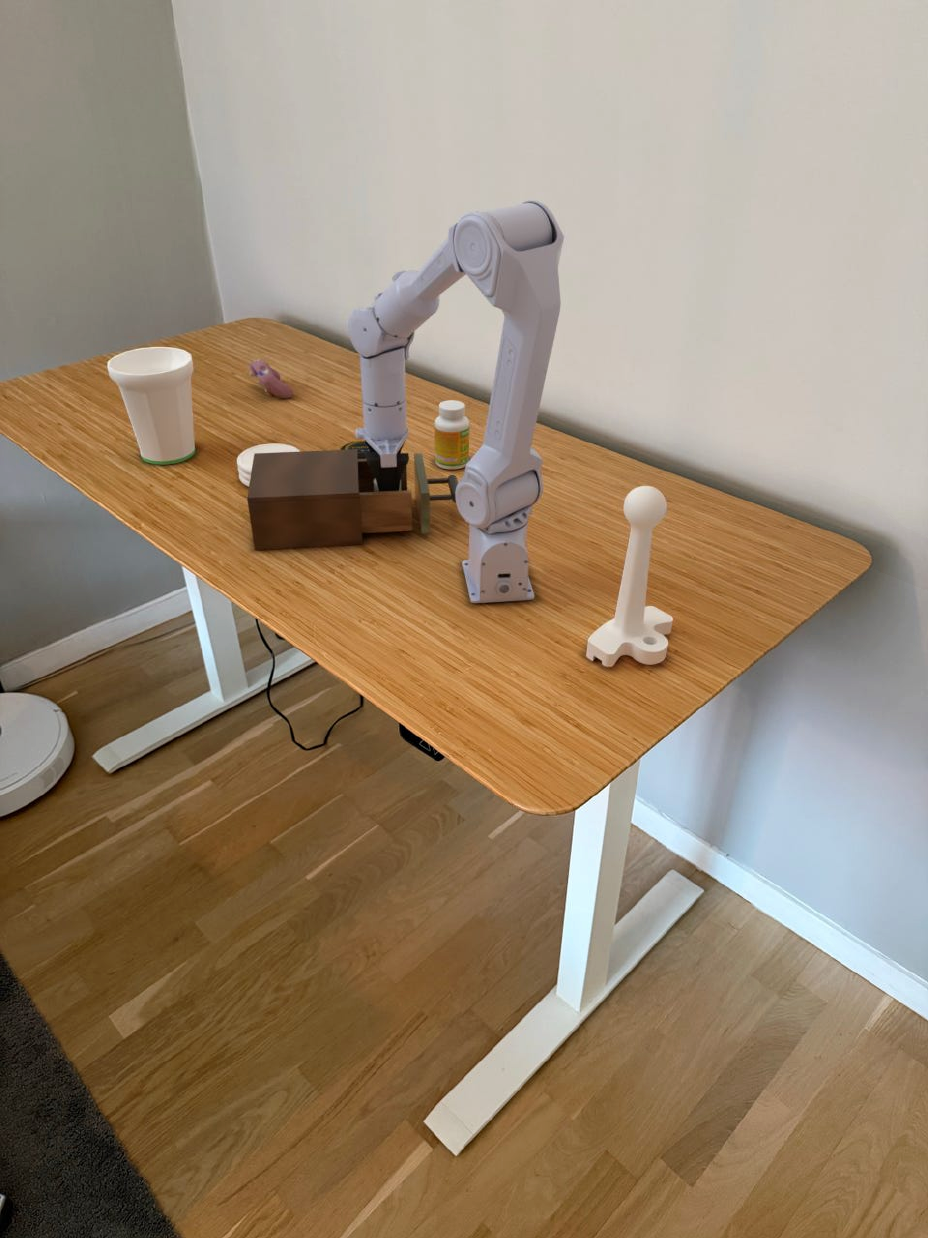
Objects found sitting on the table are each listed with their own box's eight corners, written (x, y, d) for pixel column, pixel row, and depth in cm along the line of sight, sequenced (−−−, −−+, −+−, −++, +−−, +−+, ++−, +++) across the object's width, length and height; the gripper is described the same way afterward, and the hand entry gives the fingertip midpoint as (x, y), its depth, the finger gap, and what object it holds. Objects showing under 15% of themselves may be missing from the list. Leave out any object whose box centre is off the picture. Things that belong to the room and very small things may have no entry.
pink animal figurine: (261, 391, 169) (240, 361, 164) (281, 377, 169) (261, 347, 165) (275, 409, 162) (254, 379, 157) (296, 395, 162) (275, 364, 157)
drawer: (454, 490, 132) (454, 451, 128) (464, 531, 122) (464, 491, 119) (331, 496, 130) (328, 457, 127) (331, 538, 120) (327, 497, 117)
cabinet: (360, 498, 132) (356, 448, 127) (362, 544, 121) (359, 492, 116) (261, 502, 130) (254, 453, 125) (254, 550, 119) (247, 497, 115)
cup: (111, 464, 140) (89, 369, 131) (156, 433, 149) (138, 342, 141) (181, 475, 137) (163, 379, 128) (222, 443, 147) (208, 351, 138)
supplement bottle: (465, 472, 139) (465, 413, 133) (431, 468, 140) (430, 409, 134) (471, 457, 143) (472, 399, 137) (439, 454, 144) (438, 396, 138)
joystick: (642, 616, 108) (666, 465, 96) (692, 646, 103) (723, 491, 91) (578, 651, 102) (594, 495, 90) (627, 684, 97) (651, 524, 86)
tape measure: (338, 480, 136) (336, 458, 134) (342, 461, 142) (340, 439, 139) (383, 480, 136) (382, 458, 134) (385, 460, 142) (384, 439, 140)
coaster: (227, 474, 137) (224, 453, 135) (283, 456, 143) (281, 436, 141) (260, 498, 131) (257, 476, 129) (317, 479, 136) (315, 458, 134)
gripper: (352, 379, 122) (358, 469, 129) (354, 422, 110) (360, 518, 118) (403, 377, 122) (406, 467, 130) (411, 420, 111) (414, 516, 119)
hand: (388, 491), depth 124 cm, fingers closed on glue bottle, 4 cm apart
